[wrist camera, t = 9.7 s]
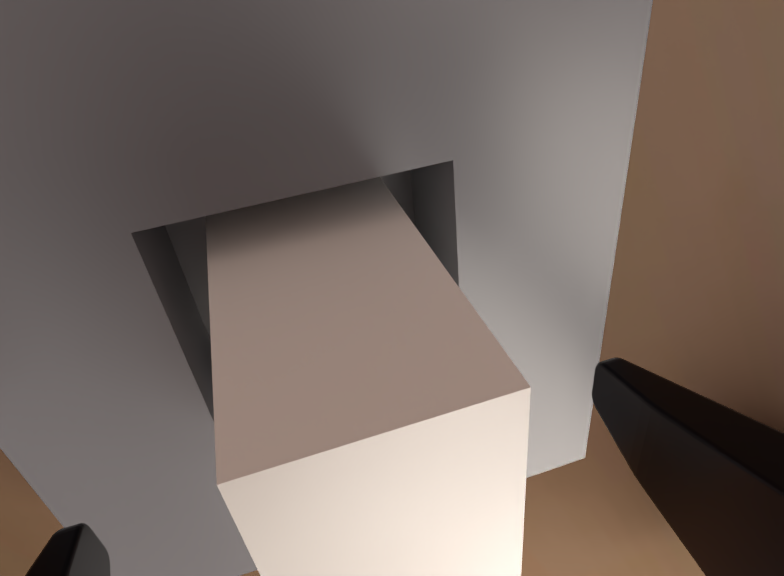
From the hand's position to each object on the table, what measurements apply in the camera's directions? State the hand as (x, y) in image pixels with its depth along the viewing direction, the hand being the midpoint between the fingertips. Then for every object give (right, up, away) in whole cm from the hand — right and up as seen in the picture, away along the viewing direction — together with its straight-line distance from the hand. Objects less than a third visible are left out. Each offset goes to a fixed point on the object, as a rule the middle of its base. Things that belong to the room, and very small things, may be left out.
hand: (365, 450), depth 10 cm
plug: (-2, +3, +5) cm, 6 cm away
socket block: (-2, +4, +5) cm, 7 cm away
